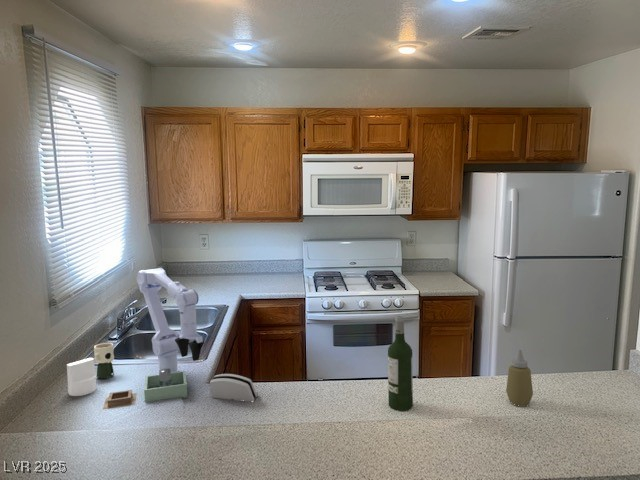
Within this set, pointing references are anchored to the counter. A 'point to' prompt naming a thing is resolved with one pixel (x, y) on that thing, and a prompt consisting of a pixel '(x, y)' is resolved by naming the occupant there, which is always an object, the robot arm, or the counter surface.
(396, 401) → the wine bottle
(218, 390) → the grey toaster
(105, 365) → the character mug
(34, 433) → the counter surface
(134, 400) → the socket block
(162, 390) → the bin
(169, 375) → the strut
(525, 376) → the squeeze bottle
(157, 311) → the robot arm
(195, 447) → the counter surface
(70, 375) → the white grooved block
